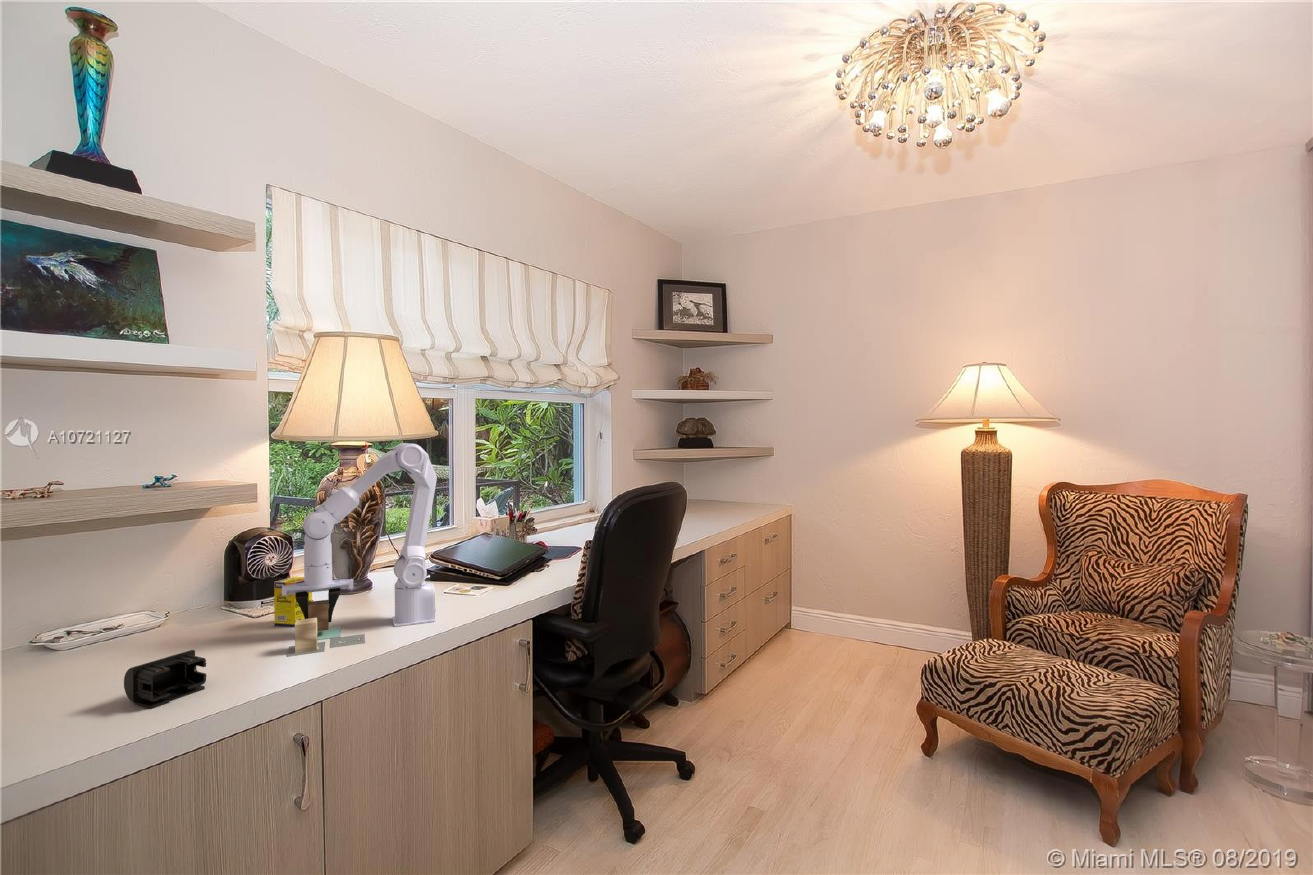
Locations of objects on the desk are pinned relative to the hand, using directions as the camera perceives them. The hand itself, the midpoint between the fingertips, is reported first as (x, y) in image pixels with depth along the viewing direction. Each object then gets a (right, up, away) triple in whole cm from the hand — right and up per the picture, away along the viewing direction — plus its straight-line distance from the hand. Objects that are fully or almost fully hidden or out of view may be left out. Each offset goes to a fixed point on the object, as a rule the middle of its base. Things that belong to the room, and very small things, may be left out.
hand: (318, 622), depth 147 cm
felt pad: (0, -3, 0) cm, 3 cm away
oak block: (+3, -3, -10) cm, 11 cm away
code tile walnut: (+9, -3, -5) cm, 10 cm away
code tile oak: (+3, -3, -10) cm, 11 cm away
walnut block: (0, -1, 0) cm, 1 cm away
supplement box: (-11, -3, +9) cm, 15 cm away
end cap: (-9, -4, -33) cm, 35 cm away
